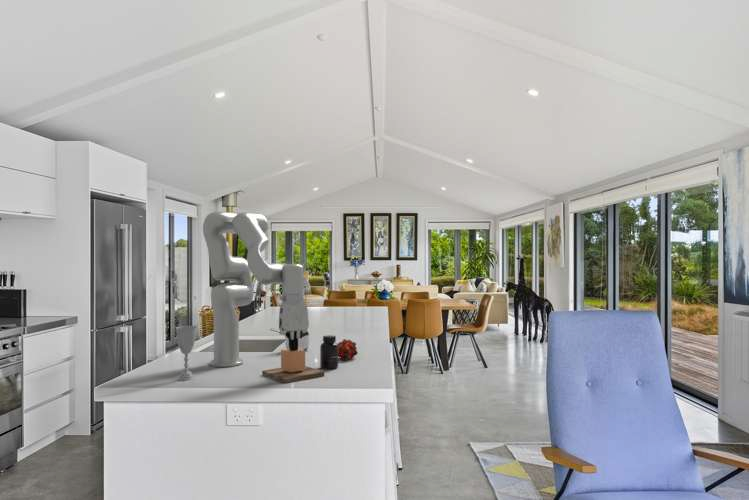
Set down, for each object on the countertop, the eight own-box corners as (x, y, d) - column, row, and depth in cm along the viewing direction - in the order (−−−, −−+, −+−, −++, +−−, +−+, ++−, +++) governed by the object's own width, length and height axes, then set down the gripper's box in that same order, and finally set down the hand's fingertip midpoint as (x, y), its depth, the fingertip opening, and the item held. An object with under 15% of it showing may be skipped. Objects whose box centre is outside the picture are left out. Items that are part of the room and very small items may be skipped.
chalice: (190, 375, 190) (190, 325, 190) (201, 378, 186) (200, 326, 186) (171, 379, 184) (171, 327, 185) (182, 382, 180) (181, 329, 180)
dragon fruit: (348, 359, 225) (348, 369, 213) (332, 348, 224) (330, 357, 212) (360, 343, 224) (360, 353, 213) (344, 332, 223) (343, 341, 212)
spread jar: (302, 348, 243) (302, 322, 243) (316, 351, 234) (316, 325, 234) (279, 351, 235) (279, 325, 235) (292, 355, 227) (292, 328, 227)
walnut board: (262, 374, 191) (262, 370, 191) (300, 368, 201) (300, 364, 201) (284, 383, 178) (284, 378, 178) (324, 375, 188) (324, 371, 188)
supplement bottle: (335, 370, 198) (335, 337, 198) (317, 369, 199) (317, 337, 199) (340, 366, 205) (340, 335, 205) (323, 365, 206) (323, 334, 206)
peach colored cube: (281, 369, 190) (281, 349, 190) (296, 366, 194) (296, 347, 194) (290, 372, 185) (289, 352, 185) (305, 369, 189) (305, 350, 189)
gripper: (279, 300, 182) (280, 354, 182) (316, 298, 191) (316, 348, 191) (269, 299, 188) (269, 351, 188) (305, 296, 197) (305, 346, 197)
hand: (293, 349), depth 189 cm, fingers closed
